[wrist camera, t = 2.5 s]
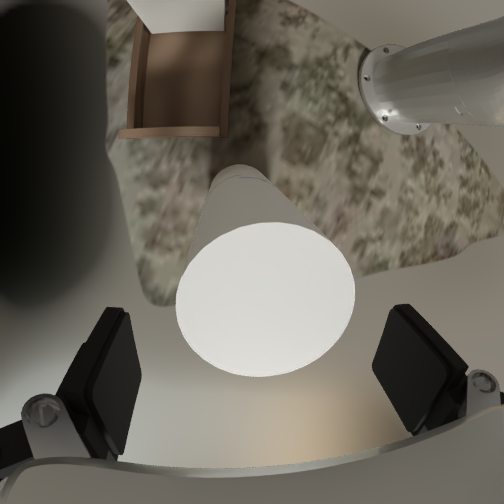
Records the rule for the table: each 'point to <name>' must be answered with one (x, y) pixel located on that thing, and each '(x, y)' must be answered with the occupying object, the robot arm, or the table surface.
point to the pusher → (180, 15)
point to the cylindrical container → (260, 281)
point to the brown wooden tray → (180, 82)
